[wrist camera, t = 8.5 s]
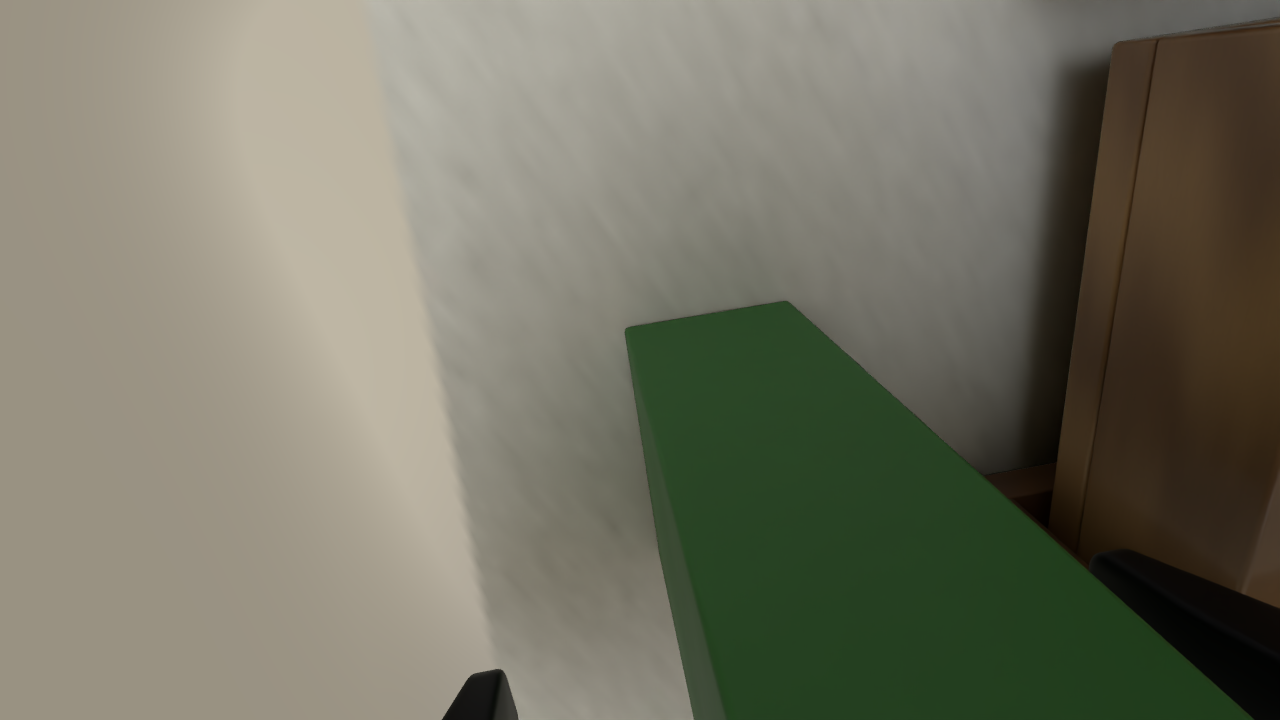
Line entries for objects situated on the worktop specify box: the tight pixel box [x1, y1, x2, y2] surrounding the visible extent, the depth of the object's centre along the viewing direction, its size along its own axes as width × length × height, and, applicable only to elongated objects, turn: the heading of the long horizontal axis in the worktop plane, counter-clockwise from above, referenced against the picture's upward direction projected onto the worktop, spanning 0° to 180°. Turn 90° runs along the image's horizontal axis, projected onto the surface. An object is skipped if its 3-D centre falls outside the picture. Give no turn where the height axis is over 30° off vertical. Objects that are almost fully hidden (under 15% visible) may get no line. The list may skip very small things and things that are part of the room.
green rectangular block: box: [625, 301, 1254, 720], centre depth 9 cm, size 6×3×10 cm, turn 8°
